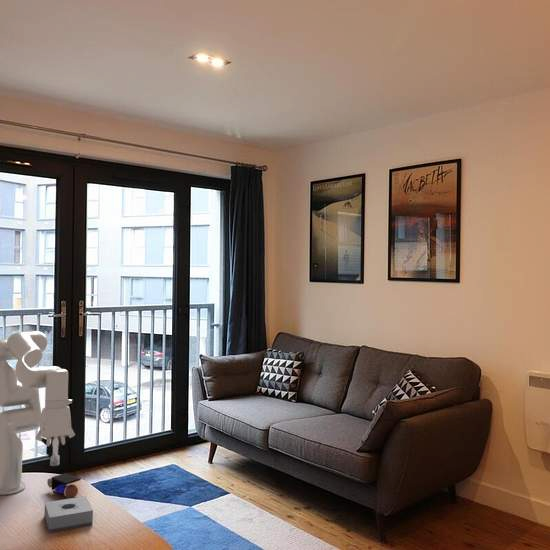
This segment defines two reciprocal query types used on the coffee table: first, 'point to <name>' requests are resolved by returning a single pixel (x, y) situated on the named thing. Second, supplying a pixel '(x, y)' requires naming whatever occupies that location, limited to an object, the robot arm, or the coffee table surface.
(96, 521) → the coffee table surface
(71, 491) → the figurine character
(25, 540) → the coffee table surface
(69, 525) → the bore block
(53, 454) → the aluminium pin
